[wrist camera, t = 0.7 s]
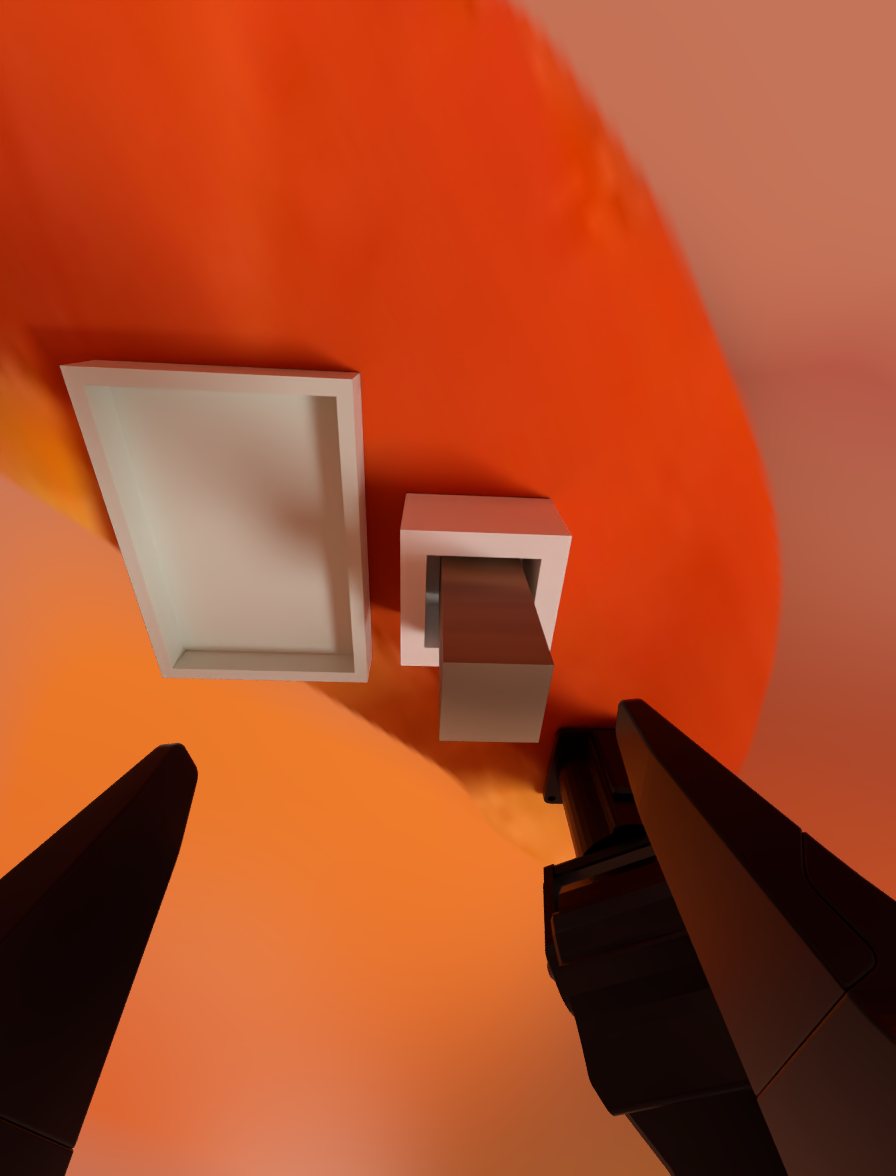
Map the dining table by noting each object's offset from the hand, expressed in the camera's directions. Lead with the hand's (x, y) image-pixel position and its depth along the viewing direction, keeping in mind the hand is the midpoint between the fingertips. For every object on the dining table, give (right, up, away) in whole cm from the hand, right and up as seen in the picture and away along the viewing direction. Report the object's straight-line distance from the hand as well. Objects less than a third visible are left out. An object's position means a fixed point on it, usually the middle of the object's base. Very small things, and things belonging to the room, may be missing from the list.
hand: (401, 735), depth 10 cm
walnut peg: (+2, +4, +13) cm, 13 cm away
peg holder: (+2, +4, +13) cm, 14 cm away
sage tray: (-8, +6, +12) cm, 15 cm away
